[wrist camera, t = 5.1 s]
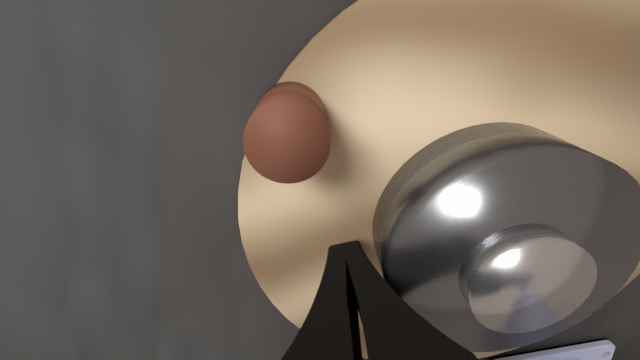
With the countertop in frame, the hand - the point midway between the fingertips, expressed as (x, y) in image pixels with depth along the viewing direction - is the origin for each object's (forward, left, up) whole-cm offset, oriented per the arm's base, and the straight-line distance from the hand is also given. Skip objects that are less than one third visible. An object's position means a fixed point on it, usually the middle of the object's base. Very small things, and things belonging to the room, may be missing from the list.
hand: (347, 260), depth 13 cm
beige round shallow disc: (0, -6, -3) cm, 6 cm away
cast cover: (0, -6, -1) cm, 6 cm away
